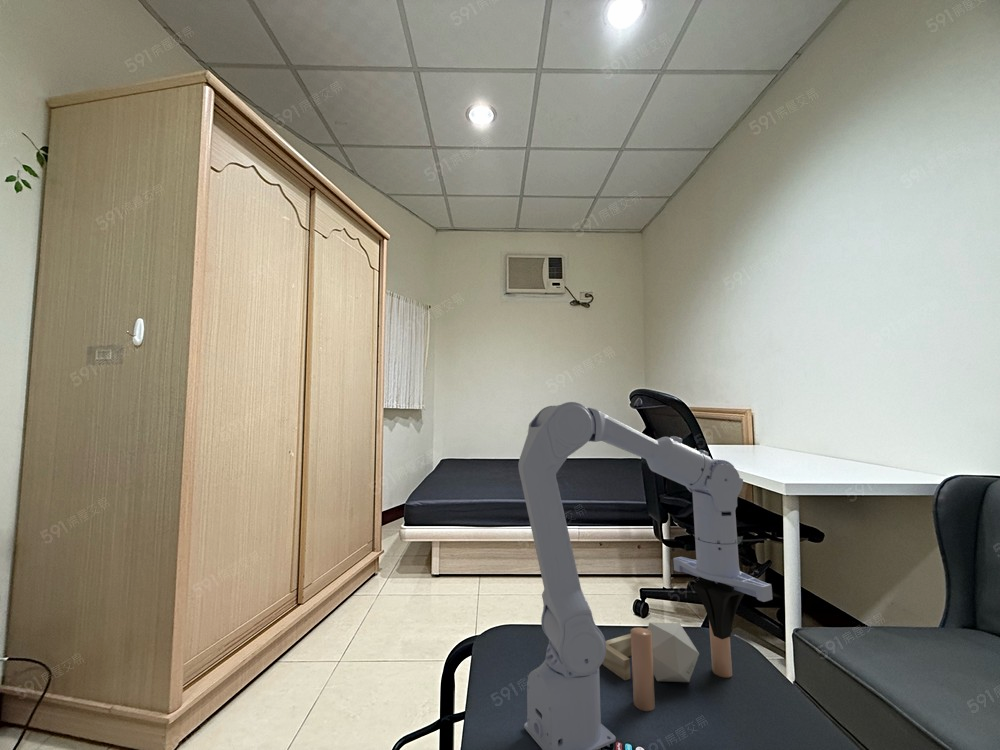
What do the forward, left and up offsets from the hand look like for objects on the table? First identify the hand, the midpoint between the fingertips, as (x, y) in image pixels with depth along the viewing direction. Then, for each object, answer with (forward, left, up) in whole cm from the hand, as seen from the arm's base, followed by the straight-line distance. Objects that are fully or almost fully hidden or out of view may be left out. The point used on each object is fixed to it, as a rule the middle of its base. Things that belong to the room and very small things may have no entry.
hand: (722, 636), depth 61 cm
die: (0, +10, -11) cm, 15 cm away
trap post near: (-9, +7, -10) cm, 15 cm away
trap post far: (+9, +7, -10) cm, 15 cm away
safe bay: (0, +16, -10) cm, 19 cm away
